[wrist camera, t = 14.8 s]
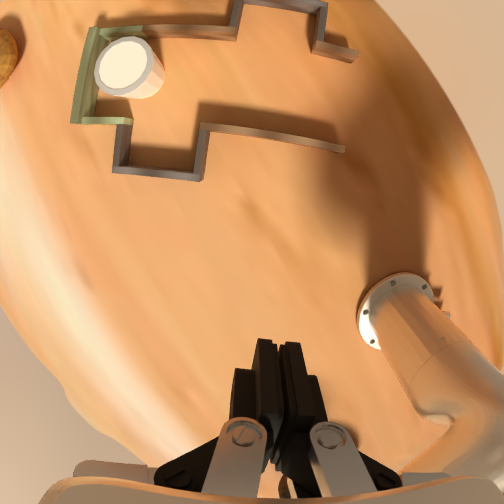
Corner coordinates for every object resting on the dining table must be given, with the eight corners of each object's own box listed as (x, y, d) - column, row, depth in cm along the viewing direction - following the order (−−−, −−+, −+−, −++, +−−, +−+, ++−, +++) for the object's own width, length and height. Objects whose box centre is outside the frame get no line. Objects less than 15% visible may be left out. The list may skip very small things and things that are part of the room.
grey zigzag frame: (355, 20, 29) (364, 9, 25) (328, 199, 37) (337, 204, 33) (112, 1, 28) (101, -10, 24) (81, 168, 35) (65, 170, 31)
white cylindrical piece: (171, 98, 33) (153, 88, 26) (119, 108, 33) (93, 101, 26) (169, 48, 31) (153, 29, 24) (118, 59, 31) (94, 45, 24)
